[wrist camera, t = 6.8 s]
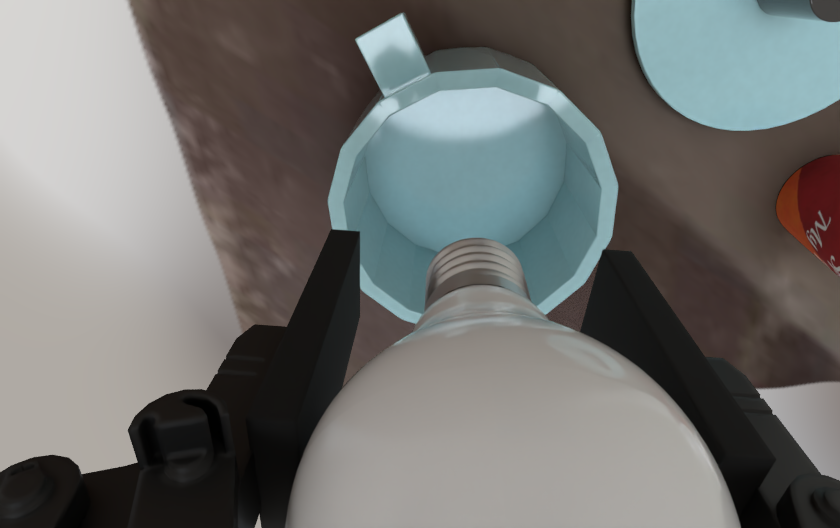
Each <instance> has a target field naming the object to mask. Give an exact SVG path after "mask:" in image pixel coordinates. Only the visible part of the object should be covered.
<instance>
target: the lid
mask: <svg viewBox="0 0 840 528" xmlns="http://www.w3.org/2000/svg"><path fill="white" fill-rule="evenodd" d="M631 24H632V37H633V42H634V47H635V52H636V55H637V58H638V61H639V63H640V66H641V69H642V71H643V73H644V75H645V77H646V78H647V80H648V82H649V84H650V85H651V87H652V88H653V89H654V90H655V92H656V93H657V94H658V96H659V97H660V98H661V99H662V100H663V101H664V102H666V103H667V104H668V105H669V106H670V107H671V108H673V109H674V110H676V111H677V112H678V113H680V114H681V115H683V116H685V117H687V118H689V119H691V120H693V121H695V122H697V123H699V124H702V125H706V126H709V127H713V128H717V129H724V130H731V131H752V130H760V129H768V128H772V127H776V126H781V125H785V124H788V123H791V122H794V121H797V120H799V119H802V118H805V117H807V116H809V115H811V114H814V113H816V112H818V111H820V110H822V109H824V108H826V107H827V106H829V105H831V104H833V103H834V102H836V101H838V100H839V99H840V0H632V7H631Z"/></svg>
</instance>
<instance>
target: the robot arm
mask: <svg viewBox="0 0 840 528" xmlns="http://www.w3.org/2000/svg"><path fill="white" fill-rule="evenodd" d="M359 318H360V231H349V230H336V229H331V231H330V233H329V235H328V238H327V240H326V242H325V244H324V247H323V249H322V251H321V253H320V255H319V258H318V260H317V262H316V264H315V266H314V269H313V271H312V273H311V275H310V277H309V280H308V282H307V284H306V286H305V288H304V291H303V293H302V295H301V297H300V299H299V302H298V304H297V306H296V308H295V310H294V313H293V315H292V317H291V319H290V321H289V324H288V326H287V327H281V326H268V325H253V326H252V327H251V328H249V329H248V330H247V331H246V332H244V333H243V334H242V335H240V336H239V337H238V338H237V339H236V340H235V342H234V344H233V345H232V347H231V349H230V350H229V352H228V354H227V356H226V360H225V359H224V361H223V363H222V364H221V366H220V368H219V370H218V374H216V375H215V376H214V378H213V380H212V382H211V383H210V385H209V387H208V388H207V390H202V389H200V390H199V389H198V390H182V391H178V392H174V393H170V394H166V395H164V396H162V397H161V398H159V399H157V400H155V401H153V402H151V403H149V404H148V405H147V406H146V407H145V408H144V409H143V410H141V411H140V412H139V413H138V414H137V415H136V416H135V417H134V419H133V421H132V423H131V425H130V427H129V429H128V432H129V435H130V439H131V442H132V445H133V448H134V451H135V454H136V458H137V461H138V463H134V464H131V465H127V466H123V467H118V468H113V469H107V470H102V471H97V472H92V473H86V474H81V472H80V469H79V466H78V465H76V464H75V463H74V462H73V461H72V460H71V459H69V458H67V457H61V456H56V455H48V456H41V457H34V458H30V459H28V460H25V461H22V462H19V463H17V464H14V465H12V466H10V467H8V468H7V469H5V470H3V471H2V472H0V528H254V527H255V525H256V522H257V519H258V516H259V513H260V520H261V527H262V528H285V520H286V513H287V507H288V502H289V497H290V493H291V489H292V485H293V481H294V478H295V474H296V471H297V468H298V465H299V463H300V460H301V457H302V455H303V452H304V450H305V447H306V445H307V443H308V441H309V439H310V436H311V435H312V433H313V431H314V429H315V427H316V425H317V423H318V422H319V420H320V418H321V417H322V415H323V414H324V412H325V410H326V409H327V407H328V406H329V405H330V403H331V402H332V400H333V399H334V398H335V396H336V395H337V394H338V393H339V391H340V390H341V389H342V386H343V382H344V378H345V374H346V370H347V366H348V362H349V358H350V354H351V350H352V346H353V342H354V338H355V334H356V330H357V326H358V322H359ZM580 332H582V333H584V334H586V335H588V336H590V337H592V338H594V339H596V340H598V341H600V342H602V343H604V344H606V345H607V346H609V347H611V348H612V349H614V350H616V351H617V352H619V353H620V354H622V355H623V356H625V357H626V358H628V359H629V360H630V361H632V362H633V363H634V364H636V365H637V366H638V367H639V368H641V369H642V370H643V371H645V372H646V373H647V374H648V375H649V376H650V377H651V378H652V379H654V380H655V381H656V382H657V383H658V384H659V385H660V386H661V387H662V388H663V389H664V390H665V391H666V392H667V393H668V394H669V395H670V396H671V397H672V398H673V400H674V401H675V402H676V403H677V404H678V405H679V407H680V408H681V409H682V410H683V411H684V413H685V414H686V415H687V417H688V418H689V419H690V421H691V422H692V423H693V425H694V426H695V427H696V429H697V430H698V432H699V433H700V435H701V436H702V438H703V439H704V441H705V443H706V444H707V446H708V448H709V449H710V451H711V453H712V455H713V457H714V459H715V460H716V462H717V464H718V466H719V468H720V470H721V473H722V475H723V477H724V479H725V481H726V484H727V486H728V489H729V491H730V494H731V496H732V499H733V502H734V505H735V508H736V510H737V514H738V517H739V520H740V524H741V528H840V481H839V480H836V479H834V478H831V477H829V476H825V475H821V474H820V472H819V471H818V470H817V468H816V467H815V466H814V464H813V463H812V462H811V460H810V459H809V458H808V457H807V455H806V454H805V453H804V451H803V450H802V449H801V447H800V446H799V445H798V443H797V442H796V441H795V440H794V438H793V437H792V436H791V435H790V433H789V432H788V431H787V429H786V428H785V427H784V425H783V424H782V423H781V421H780V420H779V419H778V418H777V416H776V415H773V414H772V410H771V408H770V407H769V406H768V404H767V403H766V402H765V400H764V399H761V398H760V394H759V393H758V391H757V390H756V389H755V387H754V386H753V385H752V384H751V382H750V381H749V380H748V378H747V377H746V376H745V375H744V374H743V373H741V372H740V371H739V370H738V369H736V368H735V367H734V366H732V365H731V364H730V363H728V362H727V361H726V360H725V359H723V358H712V357H705V356H704V355H703V353H702V352H701V350H700V349H699V347H698V346H697V345H696V343H695V342H694V340H693V339H692V337H691V336H690V335H689V333H688V332H687V330H686V329H685V327H684V326H683V325H682V323H681V322H680V320H679V319H678V317H677V316H676V314H675V313H674V312H673V310H672V309H671V307H670V306H669V304H668V303H667V302H666V300H665V299H664V297H663V296H662V294H661V293H660V292H659V290H658V289H657V287H656V286H655V284H654V283H653V282H652V280H651V279H650V277H649V276H648V274H647V273H646V271H645V270H644V269H643V267H642V266H641V264H640V263H639V261H638V260H637V259H636V257H635V256H634V254H633V253H632V252H631V251H618V250H604V249H603V250H602V253H601V257H600V261H599V265H598V268H597V272H596V276H595V279H594V283H593V287H592V290H591V294H590V298H589V301H588V305H587V309H586V312H585V316H584V320H583V323H582V327H581V331H580Z"/></svg>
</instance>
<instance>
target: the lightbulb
mask: <svg viewBox="0 0 840 528" xmlns="http://www.w3.org/2000/svg"><path fill="white" fill-rule="evenodd" d="M285 528H741V524H740V520H739V517H738V514H737V510H736V508H735V505H734V502H733V499H732V496H731V494H730V491H729V489H728V486H727V484H726V481H725V479H724V477H723V475H722V473H721V470H720V468H719V466H718V464H717V462H716V460H715V459H714V457H713V455H712V453H711V451H710V449H709V448H708V446H707V444H706V443H705V441H704V439H703V438H702V436H701V435H700V433H699V432H698V430H697V429H696V427H695V426H694V425H693V423H692V422H691V421H690V419H689V418H688V417H687V415H686V414H685V413H684V411H683V410H682V409H681V408H680V407H679V405H678V404H677V403H676V402H675V401H674V400H673V398H672V397H671V396H670V395H669V394H668V393H667V392H666V391H665V390H664V389H663V388H662V387H661V386H660V385H659V384H658V383H657V382H656V381H655V380H654V379H652V378H651V377H650V376H649V375H648V374H647V373H646V372H645V371H643V370H642V369H641V368H639V367H638V366H637V365H636V364H634V363H633V362H632V361H630V360H629V359H628V358H626V357H625V356H623V355H622V354H620V353H619V352H617V351H616V350H614V349H612V348H611V347H609V346H607V345H606V344H604V343H602V342H600V341H598V340H596V339H594V338H592V337H590V336H588V335H586V334H584V333H582V332H579V331H577V330H574V329H572V328H569V327H567V326H564V325H561V324H558V323H555V322H551V321H549V319H548V318H547V317H546V315H545V314H544V313H543V312H542V311H541V310H540V309H539V308H538V307H537V306H536V305H535V304H534V303H532V301H531V298H530V294H529V290H528V287H527V283H526V280H525V276H524V272H523V270H522V266H521V264H520V262H519V260H518V258H517V257H516V255H515V254H514V253H513V252H512V251H511V250H510V249H509V248H507V247H506V246H504V245H503V244H501V243H499V242H497V241H494V240H491V239H486V238H466V239H462V240H458V241H456V242H453V243H451V244H449V245H448V246H446V247H445V248H443V249H442V250H441V251H440V252H439V253H437V255H436V256H435V257H434V258H433V260H432V261H431V263H430V265H429V267H428V270H427V274H426V289H425V306H424V313H423V314H422V315H421V317H420V318H419V320H418V321H417V323H416V325H415V326H414V328H413V330H412V333H411V334H409V335H407V336H405V337H404V338H402V339H400V340H398V341H397V342H395V343H394V344H392V345H390V346H389V347H387V348H386V349H385V350H383V351H382V352H380V353H379V354H378V355H376V356H375V357H374V358H373V359H371V360H370V361H369V362H368V363H367V364H365V365H364V366H363V367H362V368H361V369H360V370H359V371H358V372H357V373H356V374H355V375H354V376H353V377H352V378H351V379H350V380H349V381H348V382H347V383H346V384H345V385H344V386H343V388H342V389H341V390H340V391H339V393H338V394H337V395H336V396H335V398H334V399H333V400H332V402H331V403H330V405H329V406H328V407H327V409H326V410H325V412H324V414H323V415H322V417H321V418H320V420H319V422H318V423H317V425H316V427H315V429H314V431H313V433H312V435H311V436H310V439H309V441H308V443H307V445H306V447H305V450H304V452H303V455H302V457H301V460H300V463H299V465H298V468H297V471H296V474H295V478H294V481H293V485H292V489H291V493H290V497H289V502H288V507H287V513H286V520H285Z"/></svg>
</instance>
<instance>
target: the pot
mask: <svg viewBox="0 0 840 528" xmlns="http://www.w3.org/2000/svg"><path fill="white" fill-rule="evenodd" d="M355 41H356V43H357V45H358V47H359V49H360V51H361V53H362V55H363V57H364V59H365V61H366V63H367V65H368V67H369V68H370V70H371V72H372V74H373V76H374V78H375V80H376V82H377V84H378V86H379V88H380V90H379V92H378V93H377V95H376V96H375V97H374V98H373V100H372V101H371V102H370V103H369V105H368V106H367V107H366V108H365V110H364V111H363V113H362V115H361V116H360V118H359V120H358V121H357V123H356V124H355V126H354V128H353V129H352V131H351V133H350V134H349V136H348V137H347V139H346V141H345V142H344V144H343V146H342V148H341V149H340V153H339V157H338V161H337V165H336V169H335V173H334V177H333V180H332V184H331V188H330V192H329V196H328V207H329V213H330V218H331V224H332V229H336V230H349V231H360V288H361V290H362V291H363V292H364V293H366V294H367V295H368V296H370V297H371V298H373V299H374V300H375V301H377V302H378V303H380V304H381V305H382V306H384V307H385V308H386V309H388V310H389V311H391V312H392V313H393V314H395V315H396V316H398V317H399V318H400V319H403V320H405V321H408V322H412V323H415V324H416V323H417V321H418V320H419V318H420V317H421V315H422V314H423V313H424V306H425V289H426V274H427V270H428V267H429V265H430V263H431V261H432V260H433V258H434V257H435V256H436V255H437V253H439V252H440V251H441V250H442V249H443V248H445V247H446V246H448V245H449V244H451V243H453V242H456V241H458V240H462V239H466V238H486V239H491V240H494V241H497V242H499V243H501V244H503V245H504V246H506V247H507V248H509V249H510V250H511V251H512V252H513V253H514V254H515V255H516V257H517V258H518V260H519V262H520V264H521V266H522V270H523V272H524V276H525V280H526V283H527V287H528V290H529V294H530V298H531V301H532V303H534V304H535V305H536V306H537V307H538V308H539V309H540V310H541V311H542V312H543V313H544V314H547V313H548V312H550V311H551V310H552V309H553V308H555V307H556V306H557V305H558V304H560V303H561V302H562V301H563V300H565V299H566V298H567V297H568V296H570V295H571V294H572V293H573V292H575V291H576V290H577V289H578V288H580V287H581V286H582V285H583V284H585V282H586V281H587V279H588V277H589V276H590V274H591V272H592V270H593V269H594V267H595V265H596V264H597V262H598V260H599V259H600V257H601V253H602V250H603V249H604V250H605V248H606V247H607V245H608V243H609V242H610V240H611V238H612V233H613V225H614V218H615V210H616V202H617V194H618V182H617V179H616V176H615V173H614V170H613V167H612V164H611V161H610V158H609V155H608V152H607V148H606V145H605V142H604V139H603V136H602V134H601V132H600V130H599V129H598V128H597V127H596V126H595V125H594V124H593V123H592V122H591V121H590V120H589V119H588V118H587V117H586V116H585V115H584V114H583V113H582V112H581V111H580V110H579V109H578V108H577V107H576V106H575V105H574V104H573V103H572V102H571V101H570V100H569V99H568V98H567V97H566V96H565V95H564V94H563V93H562V92H561V91H560V90H559V89H558V88H557V87H556V86H555V85H554V84H553V83H552V82H551V81H550V80H549V79H548V78H547V77H546V76H545V75H544V74H542V73H541V72H540V71H539V70H538V69H537V68H536V67H535V66H534V65H533V64H531V63H529V62H526V61H524V60H521V59H518V58H516V57H514V56H512V55H509V54H507V53H503V52H500V51H497V50H494V49H491V48H489V47H461V48H454V49H447V50H437V51H434V52H433V53H431V54H429V55H427V56H425V55H424V53H423V51H422V49H421V46H420V44H419V42H418V40H417V38H416V36H415V33H414V31H413V29H412V27H411V25H410V23H409V20H408V18H407V16H406V14H405V12H401V13H399V14H398V15H396V16H394V17H392V18H390V19H389V20H387V21H385V22H383V23H382V24H380V25H378V26H376V27H375V28H373V29H371V30H369V31H367V32H366V33H364V34H362V35H360V36H359V37H357V38H356V39H355Z"/></svg>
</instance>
